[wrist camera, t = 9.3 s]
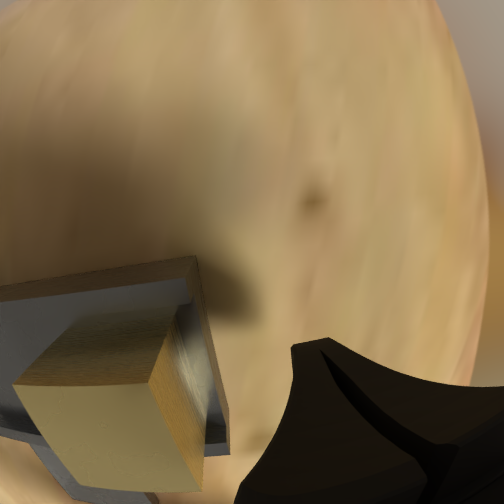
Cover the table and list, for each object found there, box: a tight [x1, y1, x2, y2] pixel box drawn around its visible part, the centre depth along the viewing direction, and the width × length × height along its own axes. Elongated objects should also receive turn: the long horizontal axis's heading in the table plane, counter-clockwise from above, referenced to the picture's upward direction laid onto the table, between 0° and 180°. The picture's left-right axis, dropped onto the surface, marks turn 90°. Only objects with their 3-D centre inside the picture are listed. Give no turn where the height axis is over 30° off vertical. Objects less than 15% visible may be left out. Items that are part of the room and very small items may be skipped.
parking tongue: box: [29, 443, 159, 504], centre depth 13 cm, size 7×7×1 cm
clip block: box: [12, 314, 207, 493], centre depth 8 cm, size 4×4×4 cm
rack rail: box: [0, 256, 230, 457], centre depth 10 cm, size 8×21×3 cm, turn 98°
